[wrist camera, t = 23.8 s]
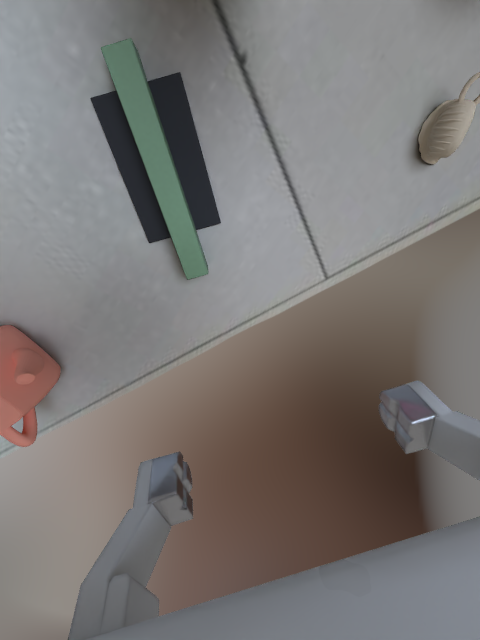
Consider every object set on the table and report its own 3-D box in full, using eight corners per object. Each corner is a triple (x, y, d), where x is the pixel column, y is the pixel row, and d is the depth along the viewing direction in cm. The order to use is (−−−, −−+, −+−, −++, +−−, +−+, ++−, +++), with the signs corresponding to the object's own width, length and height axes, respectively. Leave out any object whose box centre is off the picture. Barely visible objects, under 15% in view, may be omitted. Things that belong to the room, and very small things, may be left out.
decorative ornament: (408, 158, 38) (437, 157, 33) (441, 79, 34) (480, 66, 29) (433, 165, 38) (466, 166, 34) (469, 89, 35) (510, 78, 30)
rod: (188, 272, 41) (187, 280, 38) (109, 57, 29) (100, 47, 26) (208, 266, 41) (208, 274, 38) (137, 49, 29) (131, 37, 26)
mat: (149, 242, 39) (149, 243, 38) (91, 99, 31) (90, 98, 30) (220, 222, 39) (220, 223, 38) (180, 73, 31) (180, 72, 30)
